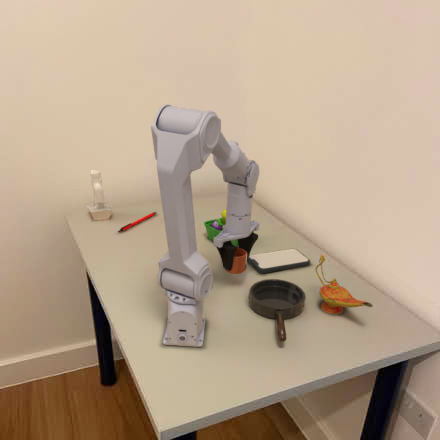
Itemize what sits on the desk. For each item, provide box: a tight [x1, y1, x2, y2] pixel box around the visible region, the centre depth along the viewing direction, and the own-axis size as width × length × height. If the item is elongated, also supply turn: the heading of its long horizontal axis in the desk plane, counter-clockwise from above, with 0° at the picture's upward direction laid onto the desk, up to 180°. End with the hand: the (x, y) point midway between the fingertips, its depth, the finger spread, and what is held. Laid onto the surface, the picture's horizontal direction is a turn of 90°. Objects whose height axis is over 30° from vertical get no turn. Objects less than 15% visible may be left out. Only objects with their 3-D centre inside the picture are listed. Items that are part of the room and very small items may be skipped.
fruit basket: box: [203, 208, 238, 246], centre depth 129 cm, size 11×9×11 cm
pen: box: [117, 211, 157, 233], centre depth 140 cm, size 1×19×1 cm, turn 151°
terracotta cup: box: [224, 248, 248, 275], centre depth 107 cm, size 5×5×5 cm
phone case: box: [247, 248, 311, 274], centre depth 121 cm, size 9×2×16 cm
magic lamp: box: [315, 254, 374, 315], centre depth 99 cm, size 7×18×11 cm, turn 30°
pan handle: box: [275, 310, 287, 343], centre depth 93 cm, size 11×2×2 cm, turn 178°
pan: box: [248, 278, 306, 320], centre depth 103 cm, size 13×13×3 cm
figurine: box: [86, 168, 114, 221], centre depth 139 cm, size 7×9×15 cm
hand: (235, 264), depth 107 cm, fingers closed on terracotta cup, 5 cm apart
